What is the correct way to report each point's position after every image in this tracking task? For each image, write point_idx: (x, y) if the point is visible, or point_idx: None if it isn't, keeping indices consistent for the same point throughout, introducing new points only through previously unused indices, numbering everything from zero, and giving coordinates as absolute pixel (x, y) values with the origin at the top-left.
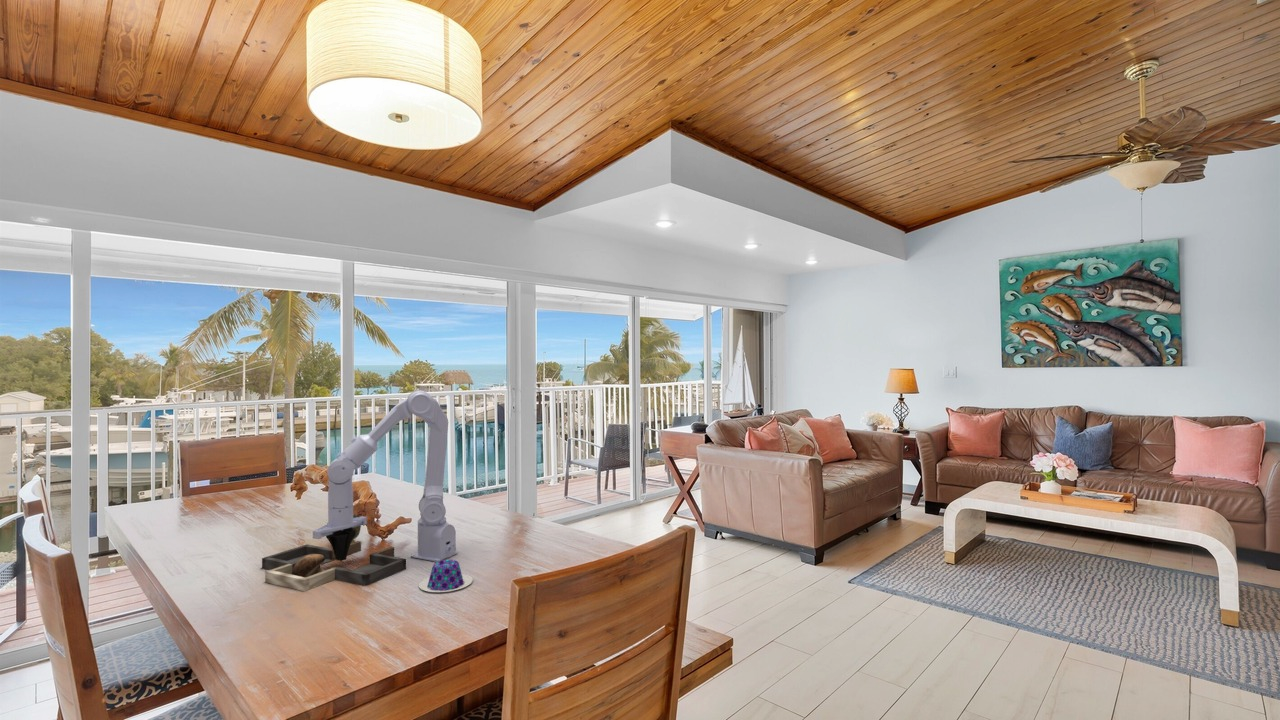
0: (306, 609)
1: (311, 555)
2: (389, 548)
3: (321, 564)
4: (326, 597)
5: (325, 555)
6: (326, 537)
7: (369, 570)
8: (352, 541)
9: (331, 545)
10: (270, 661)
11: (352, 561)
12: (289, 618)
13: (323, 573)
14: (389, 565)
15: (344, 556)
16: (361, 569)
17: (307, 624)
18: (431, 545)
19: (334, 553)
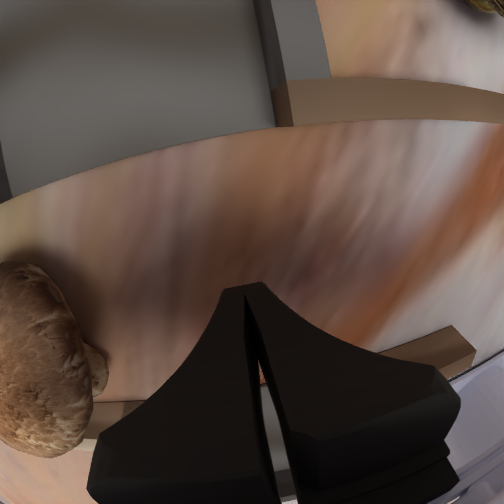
0: (42, 471)
1: (8, 441)
2: (455, 370)
3: (177, 144)
4: (82, 470)
5: (268, 46)
6: (109, 431)
7: (277, 430)
8: (492, 9)
9: (183, 364)
10: (18, 499)
11: (337, 258)
12: (18, 468)
13: (77, 448)
14: (288, 500)
15: (257, 358)
16: (266, 408)
17: (47, 493)
18: (451, 457)
19: (213, 314)
